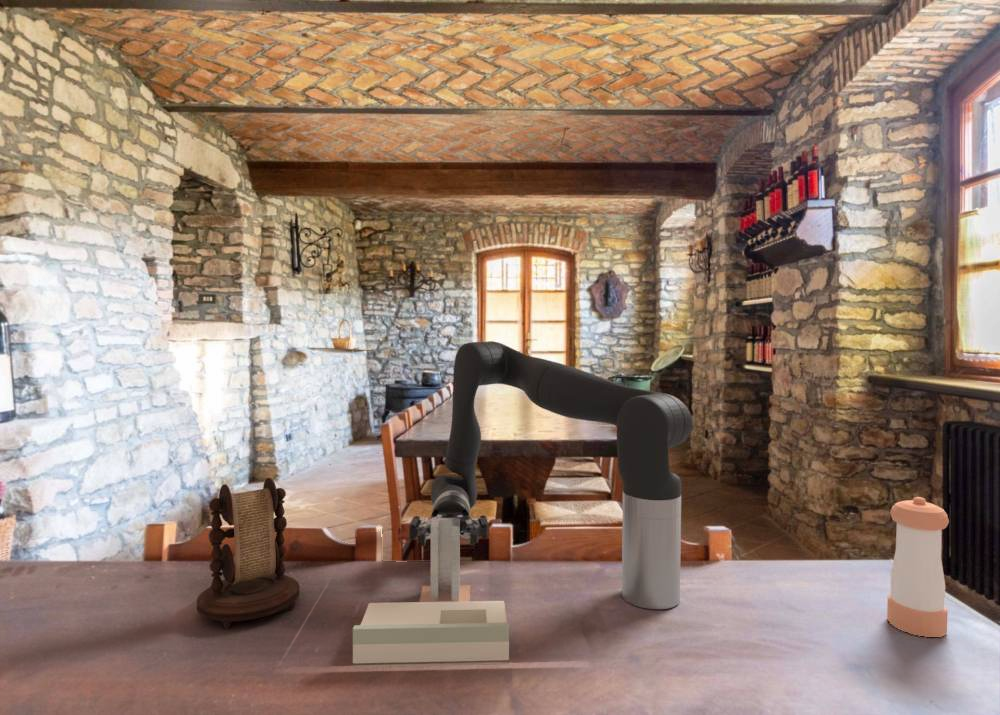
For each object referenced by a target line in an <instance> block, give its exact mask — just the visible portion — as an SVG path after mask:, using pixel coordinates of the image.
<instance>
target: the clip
mask: <svg viewBox="0 0 1000 715" xmlns="http://www.w3.org/2000/svg"><path fill="white" fill-rule="evenodd" d="M460 540H461V537H460V518H432V523H431V539H430V586H431V602H438V599H439V593H452V598H451V602H458V601H459V593H460V585H461V584H460V582H461V580H460V579H461V578H460V577H461V576H460V575H461V574H460V573H461V571H460V570H461V569H460V568H461V565H460V563H461V559H460V558H461V550H460V549H461V545H460V544H461V541H460Z"/></svg>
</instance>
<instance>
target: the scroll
mask: <svg viewBox="0 0 1000 715" xmlns="http://www.w3.org/2000/svg"><path fill="white" fill-rule="evenodd" d="M275 483H276V482H275V481H274V479H272V477H266V479H265V480H264V482H263V486H262V488H260V489H253V490H249V491H247V490H246V491H243V492H241V491H240V492H236V493H231V490H230V487H229V485H227V484H226V483H224V484H222V485H221V487H220V489H219V494H218V497H214V498H212V499H211V500H210V502H209V504H208V507H209V510H211V512H210V515H211V516H212V519H211V522H210V527H211V530H210V531H209V532H208V540H209V543H210V545H211V546H212V549H211V554H210V556H211V558H212V560H211V561H210V563H209V569H210V571H211V572H212V573H211V574H210V575H211V577H212V578H213V579H212V582H211V584H210V586H208V587H207V588H206V589H204V590H203V591H202V592H201V593H200V594H199V595H198V597H197V599H196V612H197V613H198V615H200V616H201V617H202V618H204V619H207V620H212V621H217V622H222V623H223V624H222V625H223V627H224V629H225V630H229V629H230V627H231V625H232V622H242V621H250V620H255V619H259V618H263V617H267V616H271V615H273V614H275V613H278V612H281V611H282V610H284V609H285V610H286V608H288V609H289V610H290V611H292V610H294V608H295V605H296V601H297V600H298V598H299V596H300V588H301V587H300V583H299V582H298V580H296V579H295V578H294V577H291V576H289V575H287V574H285V572H286V567H285V564H284V561H285V559H286V558H285V557H284V556H285V555H286V554H287V548H286V546H285V545H284V544H285V542H286V540H285V536H284V533H283V532H285V529H286V527H287V526H288V520H287V518H286V517H285V516H284V515H285V513H286V512H285V508H284V504H285V500H284V499H285V497H286V496H287V493H286V490H285V489H284V488H283V487H278V488H277V485H276V484H275ZM220 515H221V516H220ZM222 520H223V521H224V522H226V523H227V524H228V526H229V527H230V528H228V529H226V531H225V530H224V529H223V528H221V527H222V526H223V522H222ZM231 526H233V527H232V528H231ZM275 533H276V534H275ZM226 538H227V539H233V538H234V555H233V552H232V549H231V547H230V545H229V544H227V543H224V545H223V541H224V540H225V539H226ZM221 545H223V546H222V547H221ZM221 576H223V578H224V579H222V578H221Z"/></svg>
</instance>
